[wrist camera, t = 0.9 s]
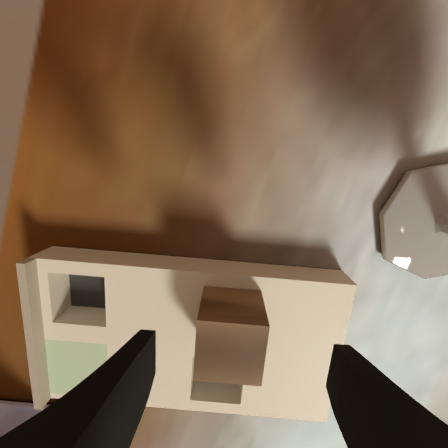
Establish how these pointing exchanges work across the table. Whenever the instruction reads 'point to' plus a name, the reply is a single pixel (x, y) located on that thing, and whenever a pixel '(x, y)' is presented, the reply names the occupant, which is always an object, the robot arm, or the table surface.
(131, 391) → the robot arm
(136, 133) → the table surface
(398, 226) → the wineglass
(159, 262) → the beige flat block
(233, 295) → the block
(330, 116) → the table surface
